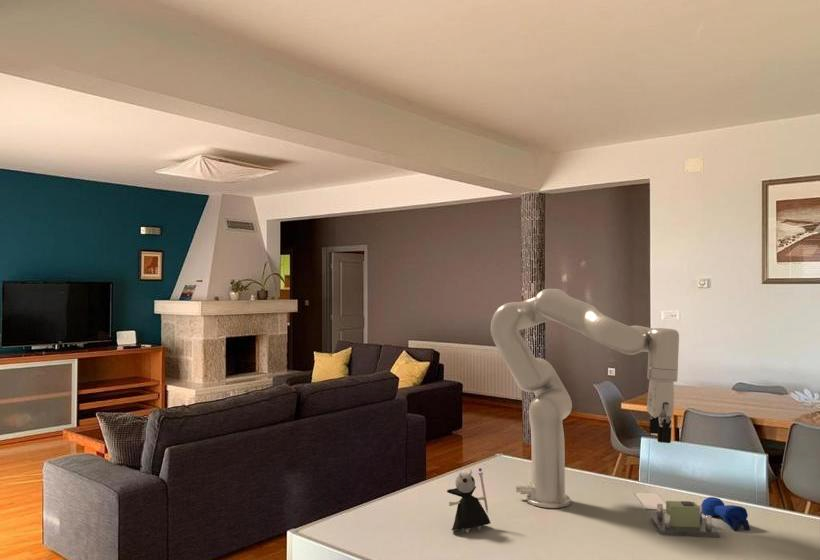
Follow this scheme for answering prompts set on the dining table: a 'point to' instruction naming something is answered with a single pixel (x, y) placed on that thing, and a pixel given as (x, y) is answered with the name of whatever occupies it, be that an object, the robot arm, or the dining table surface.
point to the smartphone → (650, 500)
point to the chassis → (666, 529)
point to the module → (683, 513)
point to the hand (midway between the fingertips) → (659, 437)
